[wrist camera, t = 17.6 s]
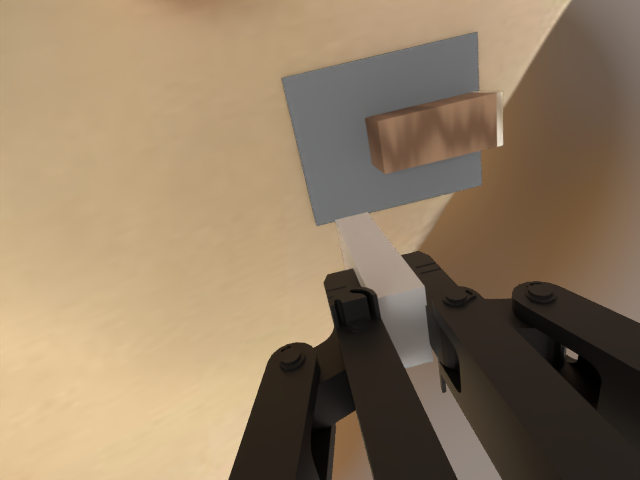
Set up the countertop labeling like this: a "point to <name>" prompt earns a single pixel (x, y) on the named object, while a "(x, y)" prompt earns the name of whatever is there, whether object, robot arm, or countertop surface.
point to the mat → (351, 134)
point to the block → (435, 130)
